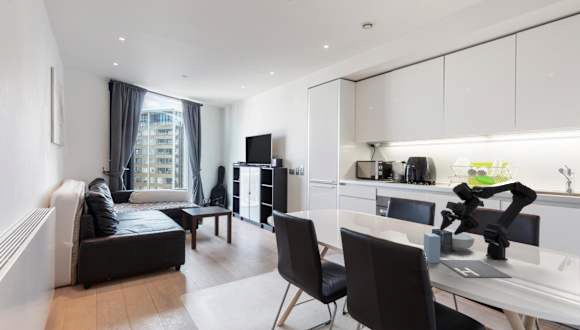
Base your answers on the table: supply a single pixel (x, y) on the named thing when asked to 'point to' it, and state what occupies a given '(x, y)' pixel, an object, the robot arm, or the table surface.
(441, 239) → the box
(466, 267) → the letter mat
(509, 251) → the table surface
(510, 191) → the robot arm
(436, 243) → the dusty blue block
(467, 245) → the cereal bowl
